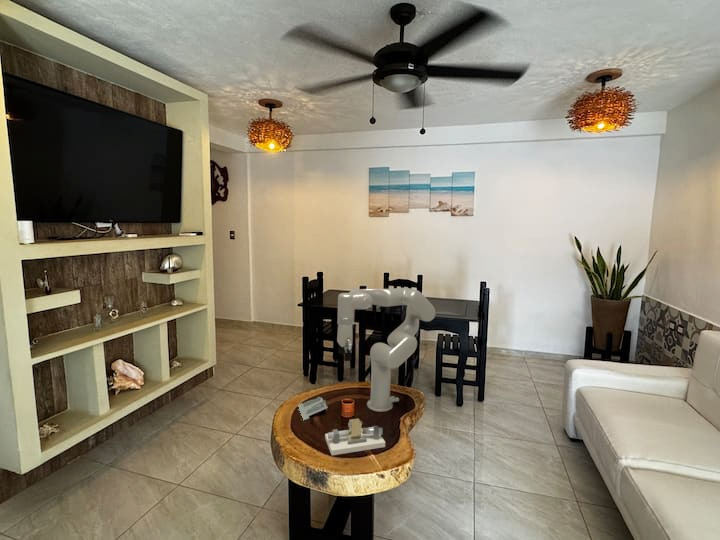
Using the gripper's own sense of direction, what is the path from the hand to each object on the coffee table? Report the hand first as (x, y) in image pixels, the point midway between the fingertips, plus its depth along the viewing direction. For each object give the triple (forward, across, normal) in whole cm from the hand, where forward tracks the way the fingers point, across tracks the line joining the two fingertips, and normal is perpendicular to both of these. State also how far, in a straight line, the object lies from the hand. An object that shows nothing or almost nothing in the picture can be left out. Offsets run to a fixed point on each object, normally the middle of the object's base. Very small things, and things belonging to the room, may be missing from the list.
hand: (344, 357), depth 167 cm
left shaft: (+26, +23, +6) cm, 36 cm away
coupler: (+26, +22, -1) cm, 34 cm away
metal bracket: (+29, -8, -13) cm, 33 cm away
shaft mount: (+28, +22, -1) cm, 36 cm away
